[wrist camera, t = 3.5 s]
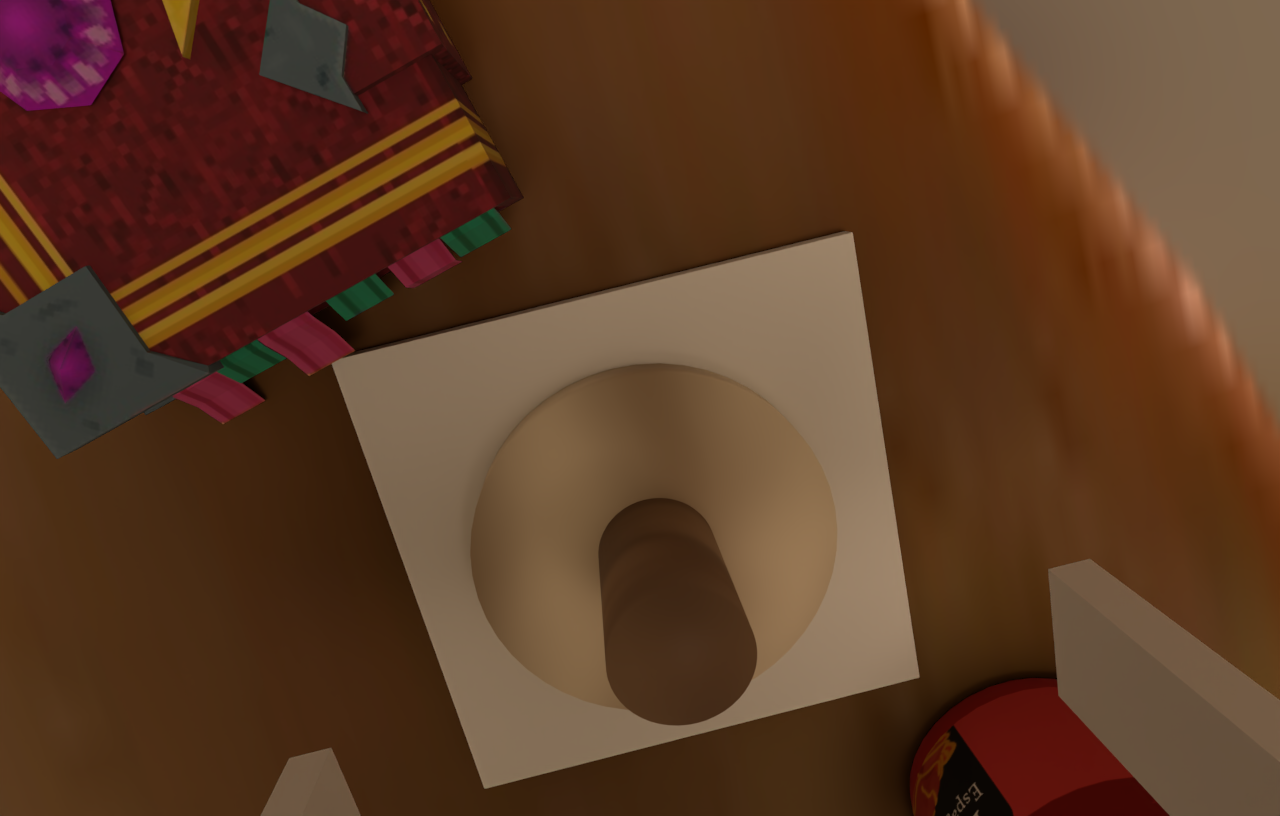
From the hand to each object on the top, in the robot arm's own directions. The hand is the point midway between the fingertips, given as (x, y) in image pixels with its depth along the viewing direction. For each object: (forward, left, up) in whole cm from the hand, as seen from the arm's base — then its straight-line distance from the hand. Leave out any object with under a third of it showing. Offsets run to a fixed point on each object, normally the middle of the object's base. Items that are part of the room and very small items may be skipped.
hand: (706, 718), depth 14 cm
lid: (0, 0, -9) cm, 9 cm away
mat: (0, 0, -9) cm, 9 cm away
